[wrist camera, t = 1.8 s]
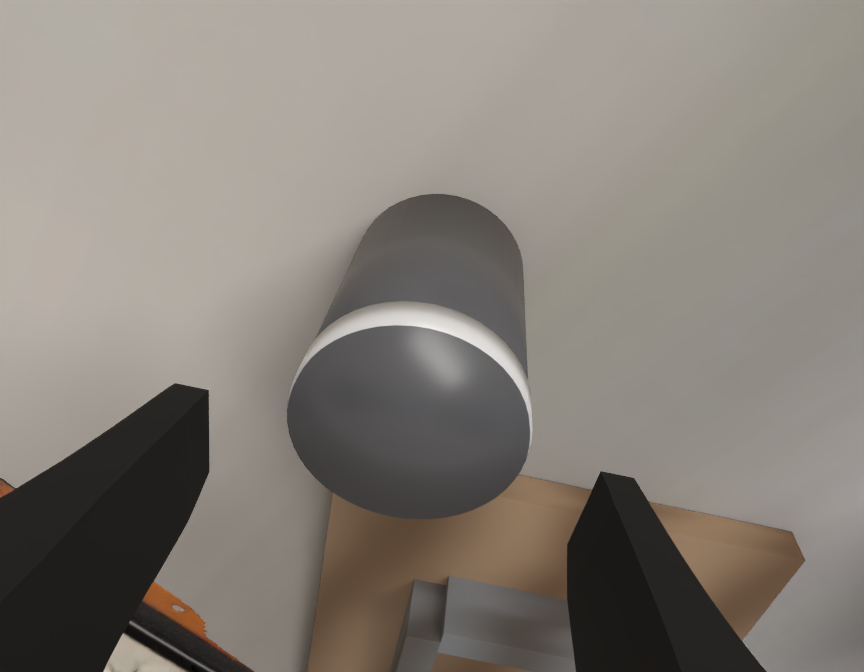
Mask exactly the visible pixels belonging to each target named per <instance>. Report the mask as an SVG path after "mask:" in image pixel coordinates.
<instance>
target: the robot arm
mask: <svg viewBox="0 0 864 672" xmlns="http://www.w3.org/2000/svg"><path fill="white" fill-rule="evenodd" d="M208 473H209V390H205V389H200V388H195V387H190V386H185V385H181V384H176V383H175V384H173V385H172V386H170V387H169V388H167V389H166V390H164V391H163V392H161V393H160V394H158V395H157V396H156V397H154V398H153V399H151V400H150V401H149V402H147V403H146V404H144V405H143V406H142V407H140V408H139V409H137V410H136V411H134V412H133V413H132V414H130V415H129V416H127V417H126V418H125V419H123V420H122V421H120V422H119V423H117V424H116V425H115V426H113V427H112V428H110V429H109V430H107V431H106V432H104V433H103V434H101V435H100V436H98V437H97V438H95V439H94V440H92V441H91V442H89V443H88V444H86V445H85V446H84V447H82V448H81V449H79V450H78V451H76V452H75V453H73V454H72V455H70V456H68V457H67V458H65V459H64V460H62V461H61V462H59V463H57V464H56V465H54V466H52V467H51V468H49V469H48V470H46V471H44V472H43V473H41V474H39V475H38V476H36V477H34V478H33V479H31V480H30V481H28V482H26V483H25V484H23V485H21V486H20V487H18V488H16V489H15V490H13V491H11V492H9V493H8V494H6V495H4V496H2V497H1V498H0V672H103V671H104V669H105V667H106V665H107V663H108V661H109V659H110V657H111V655H112V653H113V651H114V649H115V647H116V645H117V644H118V642H119V640H120V638H121V636H122V634H123V632H124V631H125V629H126V627H127V626H128V624H129V622H130V621H131V619H132V617H133V615H134V614H135V612H136V610H137V609H138V607H139V605H140V603H141V602H142V600H143V598H144V597H145V595H146V593H147V591H148V590H149V588H150V586H151V585H152V583H153V581H154V579H155V578H156V576H157V574H158V573H159V571H160V569H161V568H162V566H163V564H164V562H165V561H166V559H167V557H168V555H169V554H170V552H171V550H172V549H173V547H174V545H175V543H176V542H177V540H178V538H179V536H180V535H181V533H182V531H183V529H184V528H185V526H186V524H187V522H188V520H189V518H190V516H191V513H192V511H193V509H194V507H195V504H196V502H197V500H198V497H199V495H200V493H201V490H202V488H203V485H204V483H205V481H206V478H207V476H208ZM567 602H568V611H569V619H570V628H571V636H572V644H573V652H574V660H575V668H576V672H766V671H765V670H764V668H763V667H762V666H761V665H760V664H759V662H758V661H757V660H756V659H755V657H754V656H753V655H752V653H751V652H750V651H749V650H748V648H747V647H746V646H745V644H744V643H743V642H742V641H741V639H740V638H739V637H738V635H737V634H736V632H735V631H734V630H733V628H732V627H731V626H730V624H729V623H728V622H727V620H726V619H725V618H724V616H723V615H722V613H721V612H720V611H719V609H718V608H717V607H716V605H715V604H714V602H713V601H712V599H711V598H710V597H709V595H708V594H707V592H706V591H705V589H704V588H703V587H702V585H701V584H700V582H699V581H698V579H697V578H696V576H695V575H694V573H693V572H692V570H691V569H690V567H689V566H688V564H687V563H686V561H685V559H684V558H683V556H682V555H681V553H680V552H679V550H678V549H677V547H676V545H675V544H674V542H673V541H672V539H671V537H670V536H669V534H668V533H667V531H666V529H665V528H664V526H663V525H662V523H661V521H660V520H659V518H658V516H657V515H656V513H655V512H654V510H653V508H652V507H651V505H650V504H649V502H648V500H647V499H646V497H645V495H644V494H643V492H642V490H641V489H640V487H639V486H638V484H637V482H636V481H635V479H634V478H631V477H626V476H621V475H616V474H611V473H606V472H602V471H601V472H600V474H599V476H598V479H597V481H596V483H595V485H594V487H593V489H592V492H591V494H590V496H589V498H588V500H587V503H586V505H585V507H584V509H583V511H582V513H581V516H580V518H579V520H578V522H577V524H576V526H575V529H574V531H573V533H572V535H571V537H570V539H569V542H568V544H567Z"/></svg>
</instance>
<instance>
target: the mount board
mask: <svg viewBox="0 0 864 672" xmlns="http://www.w3.org/2000/svg"><path fill="white" fill-rule="evenodd" d="M591 492H592V490H588V489H583V488H578V487H574V486H569V485H564V484H559V483H554V482H550V481H545V480H540V479H535V478H530V477H526V476H521V475H518V476H517V477H516V479H515V480H514V481H513V482H512V483H511V485H510V486H509V487H508V488H507V489H506V490H505V491H504V492H502V493H501V494H500V495H499V496H497V497H496V498H495V499H493V500H491V501H490V502H488V503H487V504H485V505H483V506H481V507H479V508H476V509H474V510H472V511H469V512H466V513H463V514H460V515H455V516H451V517H446V518H438V519H403V518H397V517H391V516H386V515H382V514H379V513H375V512H372V511H369V510H366V509H363V508H361V507H359V506H356V505H354V504H352V503H350V502H348V501H346V500H345V499H343V498H341V497H339V496H338V495H336V494H335V493H333V494H332V501H331V508H330V515H329V522H328V529H327V536H326V543H325V550H324V557H323V564H322V571H321V578H320V585H319V592H318V599H317V606H316V613H315V620H314V627H313V634H312V641H311V648H310V655H309V662H308V669H307V672H576V668H575V660H574V652H573V644H572V636H571V628H570V619H569V611H568V602H567V544H568V542H569V539H570V537H571V535H572V533H573V531H574V529H575V526H576V524H577V522H578V520H579V518H580V516H581V513H582V511H583V509H584V507H585V505H586V503H587V500H588V498H589V496H590V494H591ZM649 504H650V505H651V507H652V508H653V510H654V512H655V513H656V515H657V516H658V518H659V520H660V521H661V523H662V525H663V526H664V528H665V529H666V531H667V533H668V534H669V536H670V537H671V539H672V541H673V542H674V544H675V545H676V547H677V549H678V550H679V552H680V553H681V555H682V556H683V558H684V559H685V561H686V563H687V564H688V566H689V567H690V569H691V570H692V572H693V573H694V575H695V576H696V578H697V579H698V581H699V582H700V584H701V585H702V587H703V588H704V589H705V591H706V592H707V594H708V595H709V597H710V598H711V599H712V601H713V602H714V604H715V605H716V607H717V608H718V609H719V611H720V612H721V613H722V615H723V616H724V618H725V619H726V620H727V622H728V623H729V624H730V626H731V627H732V628H733V630H734V631H735V632H736V634H737V635H738V637H739V638H740V639H741V641H742V640H743V639H744V637H745V636H746V635H747V634H748V632H749V631H750V630H751V629H752V627H753V626H754V625H755V624H756V622H757V621H758V620H759V618H760V617H761V616H762V615H763V613H764V612H765V611H766V610H767V608H768V607H769V606H770V604H771V603H772V602H773V601H774V599H775V598H776V597H777V596H778V594H779V593H780V592H781V591H782V589H783V588H784V587H785V585H786V584H787V583H788V582H789V580H790V579H791V578H792V577H793V575H794V574H795V573H796V572H797V570H798V569H799V568H800V566H801V565H802V564H803V563H804V561H805V559H804V557H803V554H802V552H801V550H800V548H799V546H798V544H797V542H796V540H795V537H794V535H793V533H792V532H789V531H784V530H780V529H775V528H770V527H765V526H761V525H756V524H751V523H746V522H741V521H737V520H732V519H727V518H722V517H717V516H713V515H708V514H703V513H698V512H693V511H689V510H684V509H679V508H674V507H669V506H665V505H660V504H655V503H650V502H649Z"/></svg>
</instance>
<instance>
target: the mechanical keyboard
mask: <svg viewBox="0 0 864 672" xmlns="http://www.w3.org/2000/svg"><path fill="white" fill-rule="evenodd" d="M13 490H15V488H14V487H12V486H11V485H10V484H8V483H7V482H6V481H5V480H3V479H1V478H0V498H1V497H2V496H4V495H6V494H8V493H9V492H11V491H13ZM173 605H178V606H180V607H181V608H183V609H184V610H185V611H184V612H180V611H176V610H174V609H173V608H172V606H173ZM204 624H205V622H203V620H202V619H201V618H200V616H199V615H198V614H196V613H195V611H194V610H193V609H192V608H190V607H189V606H187V605H186V604H184V603H183V602H181V600H180V599H178V598H177V597H176V596H174V595H172V594H171V593H169V592H168V591H166V590H164V589H163V588H162V587H160V586H159V585H158V584H156V583H155V582H153V583H152V585H151V586H150V588H149V590H148V591H147V593H146V595H145V597H144V598H143V600H142V602H141V603H140V605H139V607H138V609H137V610H136V612H135V614H134V615H133V617H132V619H131V621H130V622H129V624H128V626H127V627H126V629H125V631H124V632H123V634H122V636H121V638H120V640H119V642H118V644H117V645H116V647H115V649H114V651H113V653H112V655H111V657H110V659H109V661H108V663H107V665H106V667H105V669H104V671H103V672H254V671H252V670H251V669H250V668H248V667H247V666H245V665H244V664H242V663H241V662H239V661H238V660H237V658H235V657H233V656H232V655H230V654H229V653H227V652H226V651H224V650H223V649H222V648H220V647H219V646H218V645H217V644H216V643H214V642H213V641H211V640H210V639H208V638H207V637H206V634H205V633H204V632H207V631H206V630H203V629H204V628H205V626H204Z"/></svg>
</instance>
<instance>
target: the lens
mask: <svg viewBox="0 0 864 672" xmlns="http://www.w3.org/2000/svg"><path fill="white" fill-rule="evenodd" d="M287 423H288V428H289V434H290V437H291V440H292V443H293V446H294V448H295V450H296V452H297V454H298V456H299V458H300V459H301V460H302V462H303V463H304V465H305V466H306V468H307V469H308V470H309V471H310V472H311V473H312V475H313V476H314V477H315V478H316V479H317V480H318V481H320V482H321V483H322V484H323V485H324V486H325V487H326V488H328V489H329V490H331V491H332V492H333V493H335V494H336V495H338V496H339V497H341V498H343V499H345V500H346V501H348V502H350V503H352V504H354V505H356V506H359V507H361V508H363V509H366V510H369V511H372V512H375V513H379V514H382V515H386V516H391V517H397V518H403V519H438V518H446V517H451V516H455V515H460V514H463V513H466V512H469V511H472V510H474V509H476V508H479V507H481V506H483V505H485V504H487V503H488V502H490V501H491V500H493V499H495V498H496V497H497V496H499V495H500V494H501V493H502V492H504V491H505V490H506V489H507V488H508V487H509V486H510V485H511V483H512V482H513V481H514V480H515V479H516V477H517V476H518V474H519V473H520V471H521V469H522V467H523V465H524V463H525V461H526V458H527V455H528V452H529V448H530V445H531V440H532V429H533V428H532V407H531V393H530V388H529V383H528V372H527V349H526V326H525V303H524V280H523V263H522V258H521V254H520V250H519V248H518V245H517V243H516V241H515V239H514V237H513V235H512V234H511V232H510V231H509V229H508V228H507V227H506V225H505V224H504V223H503V222H502V221H501V220H500V219H499V218H498V217H497V216H496V215H494V214H493V213H492V212H490V211H489V210H488V209H486V208H484V207H483V206H481V205H479V204H477V203H475V202H473V201H470V200H468V199H465V198H461V197H457V196H452V195H445V194H429V195H421V196H416V197H412V198H409V199H406V200H404V201H401V202H399V203H397V204H395V205H393V206H391V207H390V208H388V209H387V210H386V211H384V212H383V213H382V214H381V215H380V216H379V217H378V218H377V219H376V220H375V221H374V222H373V223H372V224H371V226H370V227H369V228H368V230H367V232H366V234H365V235H364V237H363V239H362V241H361V244H360V246H359V248H358V250H357V252H356V254H355V256H354V258H353V261H352V263H351V265H350V267H349V269H348V271H347V273H346V275H345V278H344V280H343V282H342V284H341V286H340V288H339V290H338V292H337V295H336V297H335V299H334V301H333V303H332V305H331V307H330V309H329V312H328V314H327V316H326V318H325V320H324V322H323V324H322V326H321V328H320V331H319V333H318V335H317V337H316V339H315V340H314V342H313V343H312V344H311V346H310V347H309V349H308V351H307V353H306V355H305V357H304V359H303V361H302V363H301V365H300V367H299V369H298V371H297V373H296V375H295V378H294V380H293V383H292V386H291V389H290V392H289V398H288V408H287Z"/></svg>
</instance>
